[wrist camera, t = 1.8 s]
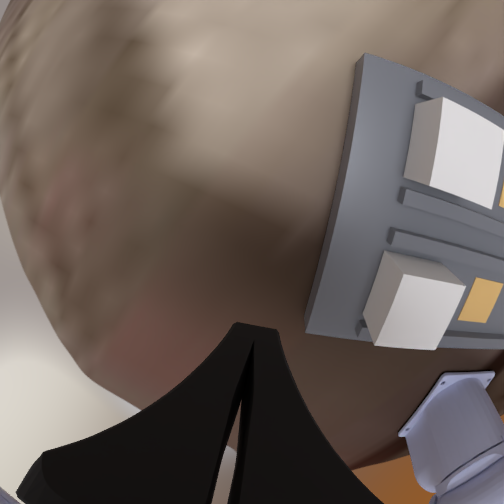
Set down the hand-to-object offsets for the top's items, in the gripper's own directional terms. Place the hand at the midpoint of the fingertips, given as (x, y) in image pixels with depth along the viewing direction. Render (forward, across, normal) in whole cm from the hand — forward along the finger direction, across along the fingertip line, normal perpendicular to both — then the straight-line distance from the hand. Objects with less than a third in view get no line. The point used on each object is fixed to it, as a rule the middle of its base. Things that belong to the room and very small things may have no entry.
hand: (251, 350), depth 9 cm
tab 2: (+7, -8, 0) cm, 11 cm away
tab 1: (+7, -8, -8) cm, 13 cm away
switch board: (+9, -13, -4) cm, 16 cm away
